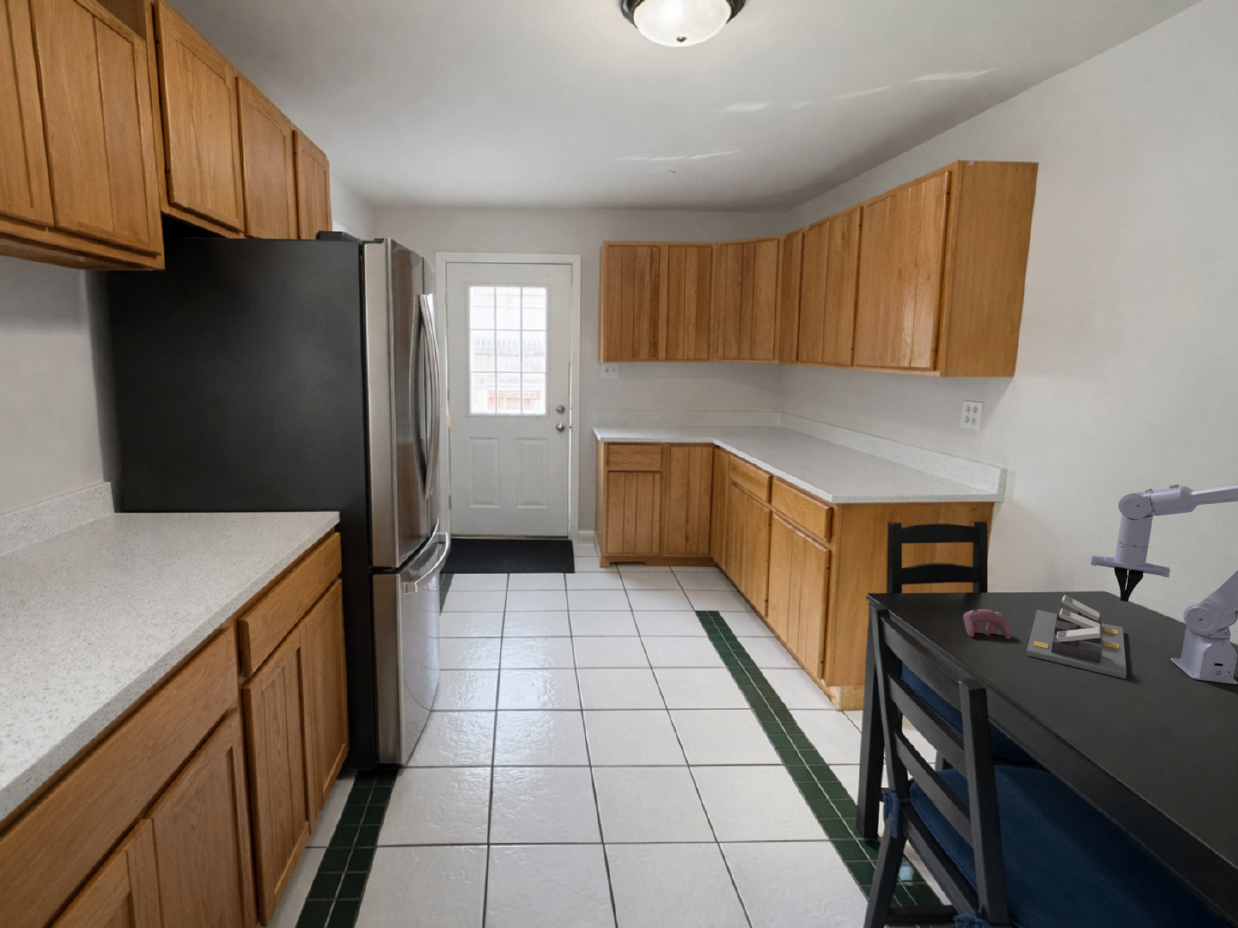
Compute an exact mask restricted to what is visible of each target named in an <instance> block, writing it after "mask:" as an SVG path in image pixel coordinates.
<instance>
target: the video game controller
mask: <svg viewBox="0 0 1238 928" xmlns="http://www.w3.org/2000/svg"><path fill="white" fill-rule="evenodd" d="M962 620H963V622H964V628H965V630H966V634H967V635H968V636H969V637H970V638H973V637H974V635H975V633H976V634H981V633H983V632H984V630H985V629H986V630H985V631H986V633H988V634H990V635H995V634H997V632H998V630H1000V631H1001V633H1002V635H1003V637H1004V638H1005V639H1006V640H1010V639H1011V638H1012V637H1011V636H1012V631H1011V628H1010V625H1009V623H1008V621H1007V619H1006V617H1005V616H1004V615H1003V614H1002V612H999V611H995V610H992V609H987V608H986V609H985V608H977V609H971V610H968V611H966V612H964V614H963V616H962ZM981 622H982V623H981ZM983 622H986V623H988V624H987V625H986V626H985V629H984V625H983Z"/></svg>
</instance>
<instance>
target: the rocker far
mask: <svg viewBox="0 0 1238 928" xmlns="http://www.w3.org/2000/svg"><path fill="white" fill-rule="evenodd" d="M1061 603H1062V604H1064V605H1066V606H1068V607H1069V608H1071V609H1073V610H1074V611H1076V612H1078V611H1079V612H1081V613H1082V614H1084V615H1086V616H1088V617H1090V618H1092V619H1094V620H1096V621H1098V619H1099V616H1100V612H1098V611H1096V610H1095V609H1094V608H1091V607H1089V606H1087V605H1085V604H1083V603H1081V602H1080V601H1078V600H1077V599H1074V598H1073V597H1071V596H1069V595H1067V594H1064V595H1063V596H1062V599H1061Z"/></svg>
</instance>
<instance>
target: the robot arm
mask: <svg viewBox="0 0 1238 928" xmlns="http://www.w3.org/2000/svg"><path fill="white" fill-rule="evenodd" d="M1233 502H1238V484H1231V485H1225V486H1219V487H1212V488H1206V489H1200V490H1193V489H1192V488H1189V487H1188V486H1186V485H1185V486H1184V485H1183V486H1180V484H1178V483H1177V484H1171V485H1169V488H1161V489H1154V490H1153V489H1152V488H1146V489H1144V491H1139V492H1131V493H1128V494H1125V495H1124V496H1121V498H1120V500H1119V502H1118V511H1119V512H1120V513H1121V518H1120V523H1119V529H1118V537H1117V542H1116V550H1115V556H1114V557H1111V556H1109V557H1108V556H1099V555H1091V559H1090V565H1091V566H1093V567H1094V566H1095V567H1097V566H1098V567H1105V568H1111V569H1114V570H1113V572H1114V575H1115V577H1116V580H1117V583H1118V587H1119V594H1120V595H1119V600H1120V602H1126V603H1128V602H1129V599H1130V597H1131V595H1132V593H1133V592H1134V589H1135V588H1136V587H1137V586H1138V584H1140V582H1141V581H1142V580H1143V578H1144V574H1147V575H1155V576H1161V577H1162V578H1168V579H1169V578H1170V574H1171V569H1170V567H1168V566H1163V565H1159V564H1158V565H1157V564H1154V563H1149V562H1147V557H1148V551H1149V546H1150V545H1149V544H1150V538H1151V537H1150V536H1151V531H1152V523H1153V519H1154V518H1153V517H1155V516H1157V517H1160V516H1168V515H1178V514H1186V513H1187V514H1188V513H1192V512H1193V511H1194V510H1195V509H1196V508H1197V507H1198V506H1202V505H1213V504H1215V505H1216V504H1221V503H1222V504H1224V503H1233ZM1183 621H1184V624H1185V625H1186V627H1185V631H1184V638H1183V642H1182V643H1183V644H1182V648H1181V654H1180V658H1176V657H1175V658H1174V657H1171V658H1170V661H1171V662H1173V663H1174V664H1175V665H1176V666H1177V667H1178V668H1179V669H1181V670H1182V671H1183V672H1184V673H1185V674H1186V675H1188V676H1189V677H1191V678H1192V679H1194V680H1200V681H1208V682H1215V683H1223V684H1231V685H1238V681H1237V680H1236V679H1235V678H1234V675H1235V671H1236V665H1237V661H1238V654H1237V651H1236V649H1235V647H1234V646H1233V645H1232V644H1231V636H1232V635H1231V630H1230V627H1231V626H1233V625H1234V624H1236V623H1237V622H1238V569H1237V570H1236V571H1235V572H1234V573H1232V575H1231V576H1230V577H1228V579H1227V580H1226V581H1225V582H1224V583H1222V585H1221V586H1219V587H1218V588H1217V589H1216V590H1215V591H1213V592H1211V593H1210V594H1208V595H1207V596H1206V597H1205V598H1204V599H1203V600H1201V601H1200V602H1198V603H1195V604H1191V605H1189V606H1187V608H1185V610H1184V613H1183Z"/></svg>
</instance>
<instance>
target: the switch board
mask: <svg viewBox="0 0 1238 928" xmlns="http://www.w3.org/2000/svg"><path fill="white" fill-rule="evenodd" d="M1061 609H1062V608H1061V607H1057V613H1054V612H1049V611H1045V610H1040V609H1036V613H1035V616H1034V620H1033V625H1032V627H1031V633H1030V635H1029V641H1028V645H1027V648H1026V654H1025V655H1026V657H1027V656H1029V657H1032V658H1036V659H1041V660H1044V661H1045V660H1046V661H1048V660H1049V661H1048V662H1052V663H1056V664H1062V665H1066V666H1069V665H1070V667H1074V668H1079V669H1082V670H1086V671H1091V672H1095V673H1098V674H1099V673H1100V674H1103V675H1107V676H1111V677H1116V678H1121V679H1125V680H1126V679H1127V665H1126V652H1125V651H1126V650H1125V641H1124V640H1125V639H1124V627H1122V626H1118V625H1113V624H1107V623H1103V619H1102V616H1101V615H1099V619H1098V621H1096V620H1094V619H1092V618H1090V617H1088V616H1086V615H1084V614H1082V613H1081V612H1079V611H1077V610H1069V609H1067V610H1068V611H1070V612H1072V613H1075V614H1077V615H1079V616H1082V617H1084V618H1087V619H1089V620H1092V621H1094V622H1096V623H1099V624H1100V631H1101V638H1093V639H1083V640H1073V641H1064V642H1058V640H1057V632H1058V631H1069V630H1078V629H1087V628H1084V627H1082V626H1079V625H1077V624H1075V623H1072V622H1070V621H1068V620H1065V619H1063V618H1060V617H1059V615H1060V611H1061Z"/></svg>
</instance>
